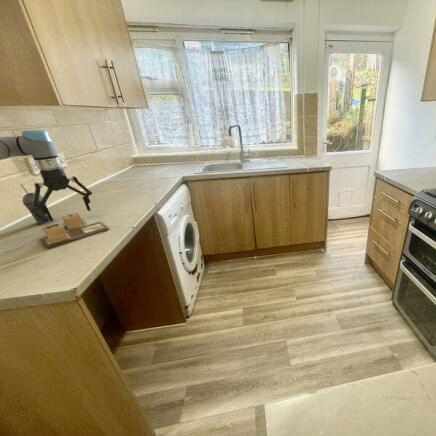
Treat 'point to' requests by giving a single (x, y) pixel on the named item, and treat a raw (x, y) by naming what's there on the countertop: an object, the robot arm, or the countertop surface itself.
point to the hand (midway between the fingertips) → (71, 214)
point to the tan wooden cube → (72, 220)
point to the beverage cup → (35, 208)
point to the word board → (77, 234)
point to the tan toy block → (55, 232)
